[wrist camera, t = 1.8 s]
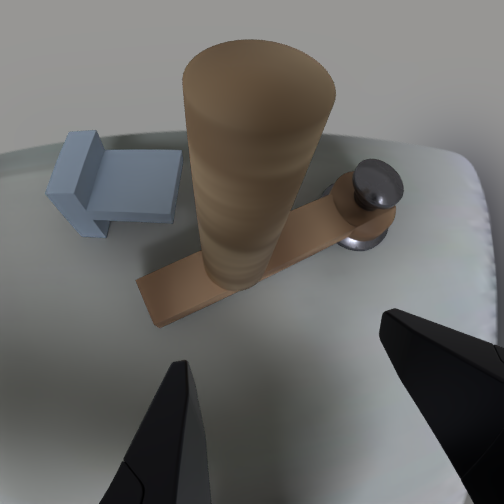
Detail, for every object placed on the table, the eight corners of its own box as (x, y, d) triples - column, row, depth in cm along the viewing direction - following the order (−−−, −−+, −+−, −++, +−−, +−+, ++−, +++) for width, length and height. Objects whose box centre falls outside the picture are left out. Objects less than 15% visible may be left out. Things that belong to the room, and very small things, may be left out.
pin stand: (393, 205, 24) (423, 172, 19) (375, 264, 22) (408, 237, 17) (332, 172, 24) (352, 132, 20) (306, 227, 22) (326, 192, 18)
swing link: (362, 174, 24) (452, 27, 10) (397, 226, 22) (521, 95, 9) (135, 272, 19) (22, 104, 6) (166, 343, 18) (37, 267, 5)
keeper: (186, 184, 23) (178, 128, 17) (178, 242, 21) (165, 195, 15) (96, 182, 22) (69, 131, 17) (81, 236, 20) (44, 193, 15)
